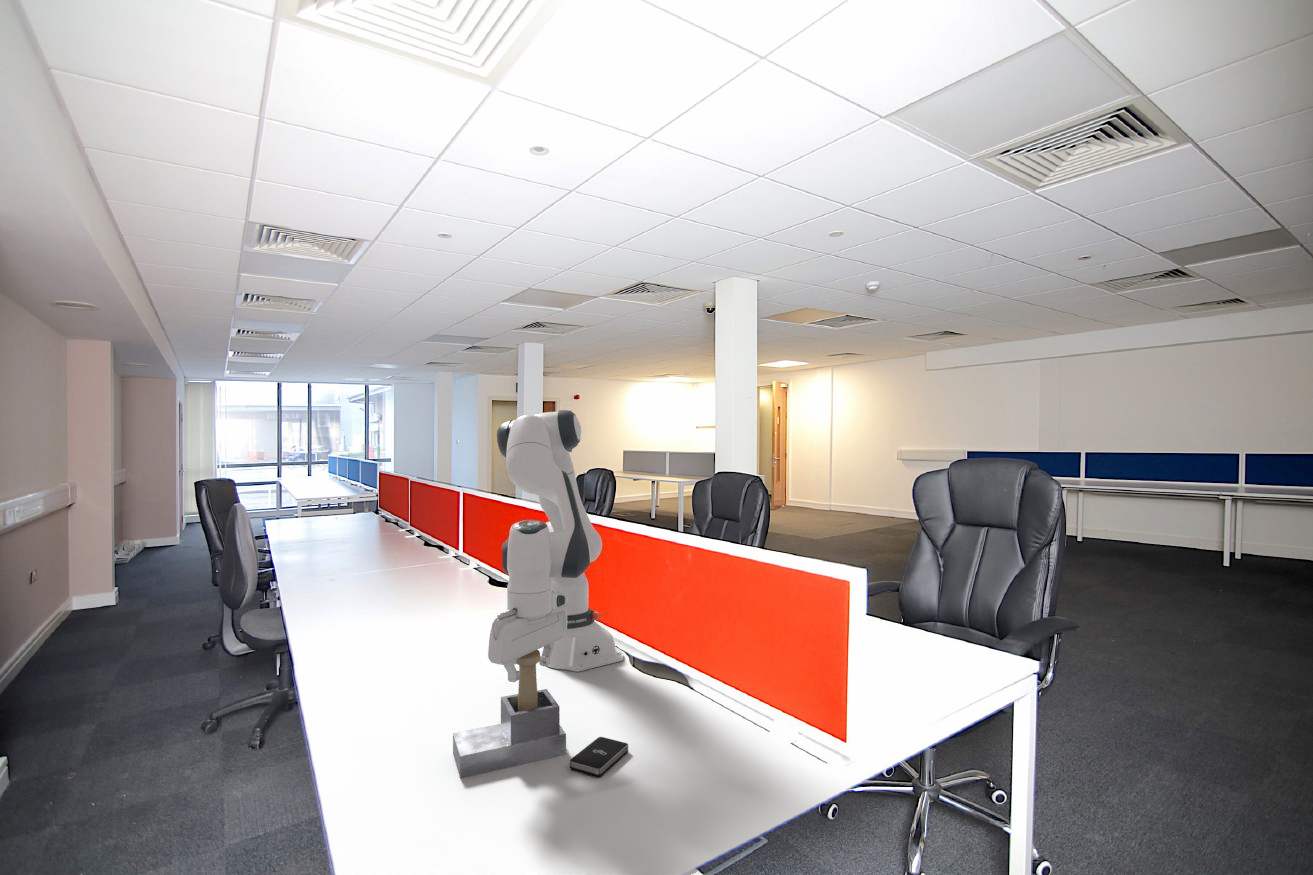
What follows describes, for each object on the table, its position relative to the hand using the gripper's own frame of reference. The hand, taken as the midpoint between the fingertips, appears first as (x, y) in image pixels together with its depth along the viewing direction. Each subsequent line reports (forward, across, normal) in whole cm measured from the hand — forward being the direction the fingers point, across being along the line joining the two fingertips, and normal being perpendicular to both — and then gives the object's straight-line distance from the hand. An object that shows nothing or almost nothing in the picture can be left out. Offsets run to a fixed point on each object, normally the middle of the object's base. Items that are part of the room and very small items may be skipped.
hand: (529, 672), depth 123 cm
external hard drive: (+16, +3, -15) cm, 22 cm away
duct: (+15, -3, +2) cm, 16 cm away
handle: (+11, 0, 0) cm, 11 cm away
